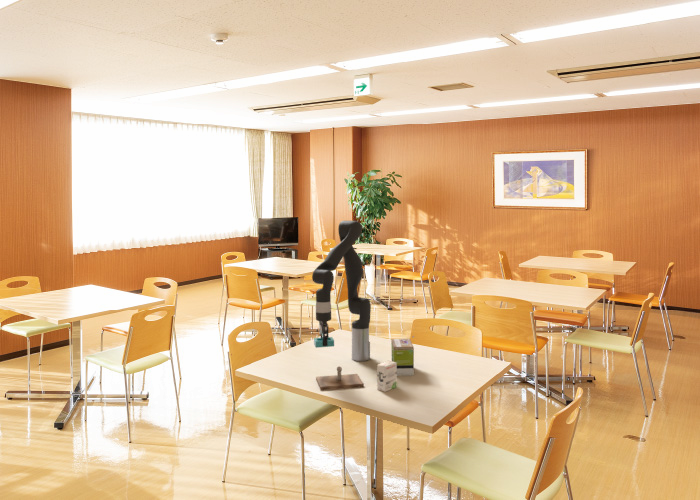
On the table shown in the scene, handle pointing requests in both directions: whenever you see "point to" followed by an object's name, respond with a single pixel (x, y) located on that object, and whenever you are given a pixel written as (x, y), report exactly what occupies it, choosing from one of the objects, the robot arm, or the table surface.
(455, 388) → the table surface
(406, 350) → the tea box
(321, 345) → the teal open frame
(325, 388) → the plate
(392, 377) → the ink box
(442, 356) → the table surface
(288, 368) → the table surface
